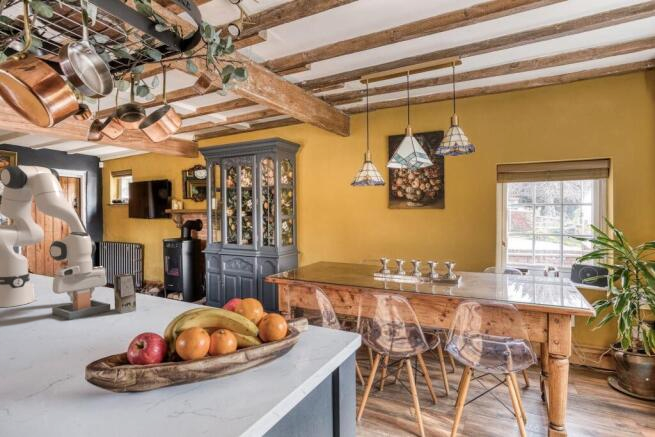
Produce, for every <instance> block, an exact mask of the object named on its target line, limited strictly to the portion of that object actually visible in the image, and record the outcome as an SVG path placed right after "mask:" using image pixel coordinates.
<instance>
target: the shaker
mask: <svg viewBox="0 0 655 437" xmlns="http://www.w3.org/2000/svg"><path fill="white" fill-rule="evenodd" d="M72 295H73V297H76V301H73V302H72V303H73V309H77V310H80V309H85V308H89V307H91V300H92V299H91V300H90V289H83V290H77V291H73V294H72Z"/></svg>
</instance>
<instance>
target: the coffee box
mask: <svg viewBox="0 0 655 437" xmlns="http://www.w3.org/2000/svg"><path fill="white" fill-rule="evenodd" d="M136 286H137V285H136V274H133V273H129V272H126V273H120V274H114V275H113V290H114V291H113V292H114V311H116V312H118V313H120V314H125V313H129V312H131V313H132V312H135V311H137V303H136V302H137V298H136V297H137V295H136V290H137V288H136Z"/></svg>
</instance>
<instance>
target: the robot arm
mask: <svg viewBox="0 0 655 437" xmlns="http://www.w3.org/2000/svg"><path fill="white" fill-rule="evenodd" d="M60 181H61V179H60V174H59V173H58V171H57V170H56V169H54V168H51V167H48V166H47V167H43V166H37V165H35V166H34V165H14V164H13V165H7V166H5V167H3V168H2V169H1V172H0V182H1V184H2V185H3V190H2V194H1V199H0V200H1V201H0V213H1V214H2V216H4V217H6V218H9V219H10V220H12V221H13V222H12V224H0V308H9V307H10V308H11V307H18V306H22V305H26V304H30V303H33V302H35V301H38V300H39V297H37V296H35V289H34V284H33V283H32V282H30V279H31V278H30V277H31V276H30V273H29V264H28V263H29V260H28V258H27V257H26V256H25V255H23V254H20V253H17V252H15V250H14V247H15V248H16V247H26V246H33V245H36V244H37V245H38V244H40V243H41V242H43V239H44V237H45V232H44V229H43V228H42V227H41V225H39V224H38V223H36V221H34V219H33V216H32V203H33V199H34V205H35V206H36V208H37V209H38V210H39V211H40V212H41V213H42V214H44V215H46V216H49V217H52V218H56V219H58V220H61V221H63V222H65V224H67V226H68V227H69V229H70V231H71V232H69V233H68V235H67V236H66V237H63V238H61V239H58V240H54V241H53V242H52V243H51V244H50V246H49V250H48V251H49V255H50V258H52V259H53V260H55V261H56V262H63V261H64V262H66V261H68V262H67V265H66V266H63V267H60V268H58V269H56V270H54V274H55V276H54V278H53V280H52V281H53V282H52V292H53V293H54V294H59V295H60V294H64V293H66V294H67V296H68V298H70V300H69V301H70V302H72V303H73V301H76V297H73V295H72V294H73V291H77V290H83V289H90V298H91V299H92V298H93V293H94V292H95V288H99V287H104V286H106V285H107V284H108V283H107V281H108V280H107V276H106V272H107V271H106V270H107V269H106V267H104V266H103V265H100V266H99V265H98V266H93V259H92V257H93V256H94V255H95V253H96V250H97V246H96V243H95V241H94V239H92V237H91V236H90V234H89V232H88V230H87V228H86V226H85V224H84V222H83V220H82V218H81V215H80V214H79V212H78V210H77V209H76V208H75V207H73V206H72V205H71V204H70V202H68V200H67V199H66V197H65V194H64V191H63V188H62V186H61V184H60Z"/></svg>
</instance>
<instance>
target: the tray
mask: <svg viewBox="0 0 655 437" xmlns="http://www.w3.org/2000/svg"><path fill="white" fill-rule="evenodd" d="M51 309H52V310H51V312H52V315H54V316H57V317H60V318H62V319H65V320H68V321H72V320H76V319H81V318H84V317H85V318H86V317H89V316H90V317H91V316H94V315H97V314H98V315H99V314H102V313H107V312H110V311H111V303H107V302H103V301H100V300H96V299H91V307H89V308H85V309H80V310H77V309H73V302H72V303H68V304H67V303H66V304H63V305H56V306H53V307H51Z"/></svg>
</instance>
